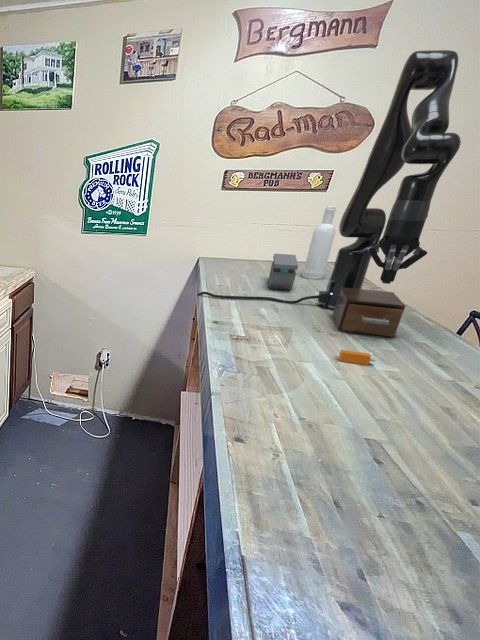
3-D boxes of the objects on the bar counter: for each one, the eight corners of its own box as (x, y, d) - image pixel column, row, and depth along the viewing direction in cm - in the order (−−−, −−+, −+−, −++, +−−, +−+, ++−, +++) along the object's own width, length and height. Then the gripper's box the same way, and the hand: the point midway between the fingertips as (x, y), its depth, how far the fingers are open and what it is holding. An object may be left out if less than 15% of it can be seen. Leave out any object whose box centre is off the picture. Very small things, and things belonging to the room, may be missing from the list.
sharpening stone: (291, 293, 177) (298, 265, 173) (268, 291, 181) (274, 263, 176) (289, 280, 197) (295, 255, 193) (268, 278, 201) (274, 253, 197)
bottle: (320, 275, 205) (339, 205, 193) (325, 279, 198) (345, 207, 186) (299, 274, 207) (317, 205, 195) (304, 278, 200) (322, 206, 188)
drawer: (397, 341, 127) (407, 315, 124) (343, 334, 133) (351, 308, 129) (383, 321, 143) (392, 297, 140) (336, 315, 149) (343, 292, 146)
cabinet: (394, 337, 133) (405, 305, 129) (337, 330, 139) (347, 299, 135) (383, 321, 146) (393, 292, 142) (332, 315, 152) (340, 287, 148)
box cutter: (339, 360, 117) (341, 352, 116) (338, 357, 119) (340, 349, 118) (373, 366, 114) (377, 357, 113) (372, 363, 116) (375, 354, 115)
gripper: (436, 217, 120) (412, 282, 126) (373, 215, 125) (354, 277, 132) (444, 220, 114) (419, 288, 120) (378, 218, 119) (358, 283, 126)
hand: (385, 282), depth 126 cm, fingers closed
